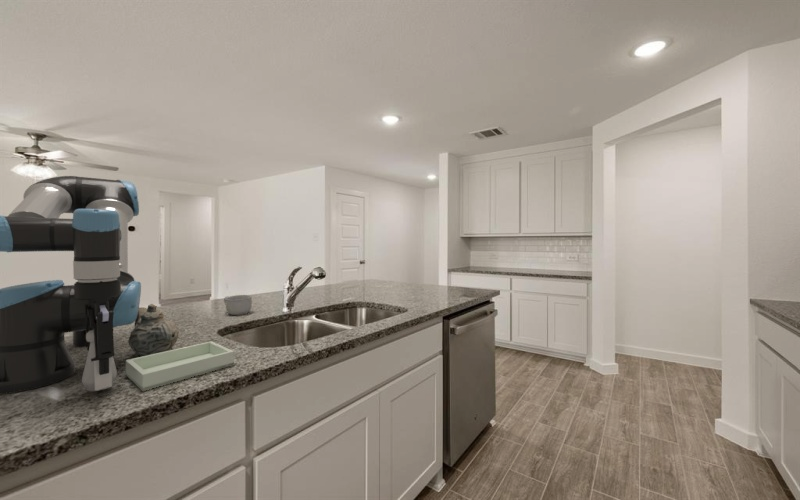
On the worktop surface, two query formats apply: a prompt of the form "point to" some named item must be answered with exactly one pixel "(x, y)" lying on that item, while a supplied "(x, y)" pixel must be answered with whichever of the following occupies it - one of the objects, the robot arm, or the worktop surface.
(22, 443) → the worktop surface
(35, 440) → the worktop surface
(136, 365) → the tray
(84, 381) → the salt shaker
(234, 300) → the teacup
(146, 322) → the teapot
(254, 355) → the worktop surface
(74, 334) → the supplement bottle
